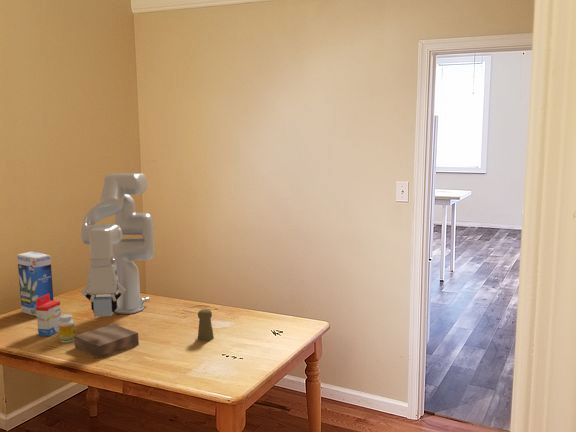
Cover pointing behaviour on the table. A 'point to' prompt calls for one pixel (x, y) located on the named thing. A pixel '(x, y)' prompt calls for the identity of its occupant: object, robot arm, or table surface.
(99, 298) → the blue cube
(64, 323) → the supplement bottle
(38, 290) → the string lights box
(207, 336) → the cork
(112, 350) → the walnut block
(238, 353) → the table surface
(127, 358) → the table surface
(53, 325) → the ink box
